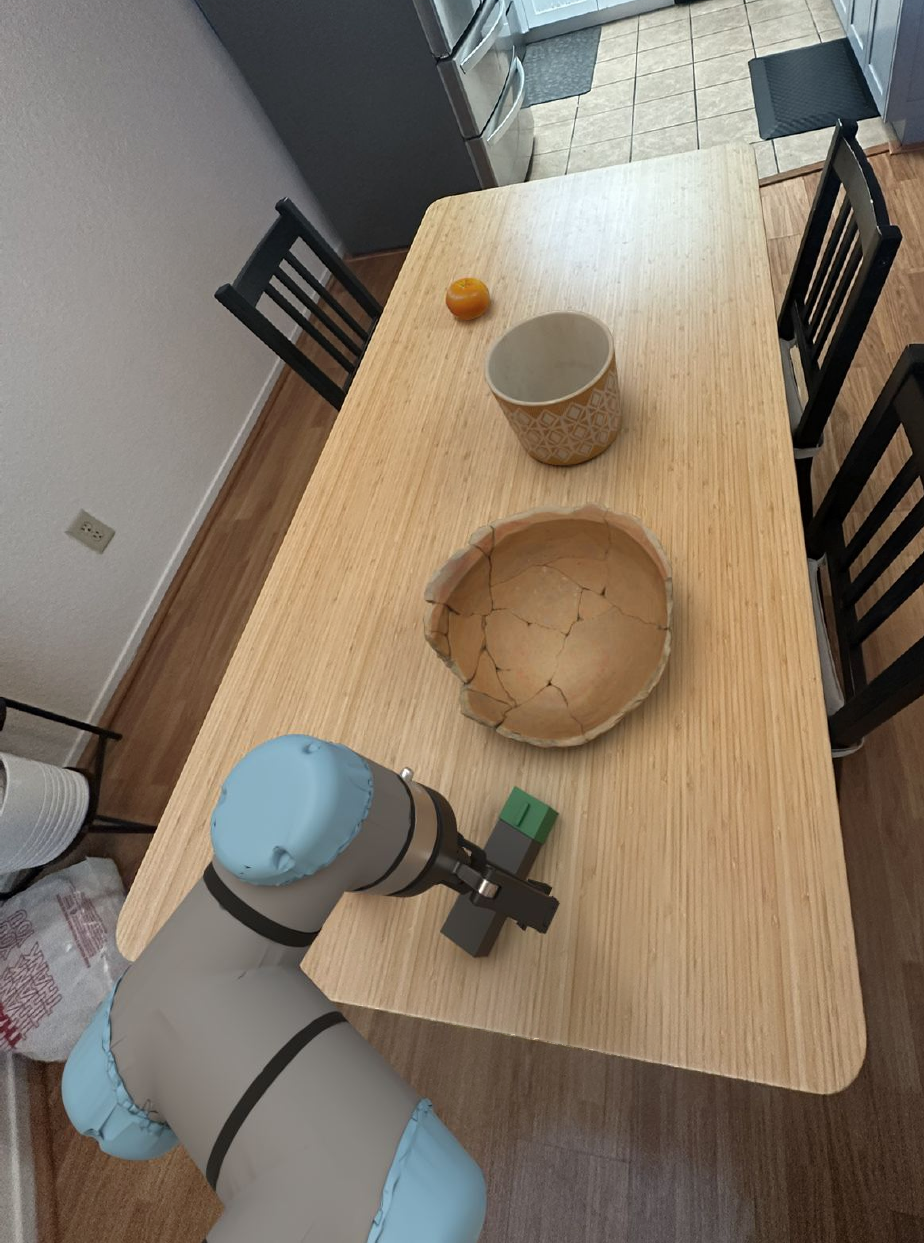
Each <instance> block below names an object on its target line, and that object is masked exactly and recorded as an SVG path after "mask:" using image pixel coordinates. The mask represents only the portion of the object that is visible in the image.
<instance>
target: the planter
mask: <svg viewBox="0 0 924 1243" xmlns="http://www.w3.org/2000/svg"><path fill="white" fill-rule="evenodd" d="M618 375H619V374H618V366H617V358H616V350H615V341H614V337H613V334H612V332H611V330H610V329H609V327H608V326H607V325H606V324H605V323H604V322H603V321H602V320H600V319H599V318H597V317H596V316H595V315H592V314H590V313H588V312H583V311H579V310H574V309H554V310H547V311H543V312H539V313H536V314H535V313H534V314H532V315H530V316H528V317H525V318H523V319H521V320H518V321H517V322H516V323H514V324H512V325H511V326H509V327H507V329H506V330H504V331H503V332H502V333H500V335H499V336H498V337H497V338H496V339H495V340H494V342H492V344H491V346H490V347H489V349H488V351H487V353H486V355H485V359H484V362H483V376H484V380H485V382H486V384H487V386H488V388H489V390H490V392H491V394H492V395H493V397H494V398H495V400H496V402H497V404H498V405H499V407H500V409H501V411H502V413H503V414H504V416H505V419H507V421H508V423H509V425H510V427H511V428H512V430H513V432H514V434H515V435H516V437H517V438H518V441H519V443H520V444H521V446H522V447H523V449H524V450H525V451H526V453H528V454H529V455H530V456H531V457H532V458H534V459H536V460H538V461H540V462H542V463H545V464H549V465H553V466H554V465H555V466H571V465H572V466H573V465H576V464H580V463H583V462H586V461H589V460H591V459H593V458H595V457H597V456H598V455H600V454H601V453H603V452H604V451H605V450H606V449H608V447H610V445H611V444H612V443H613V441H614V440H615V439H616V437H617V435H618V433H619V432H620V429H621V425H622V421H623V412H622V411H623V410H622V402H621V394H620V393H621V392H620V385H619V376H618Z"/></svg>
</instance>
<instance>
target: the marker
mask: <svg viewBox="0 0 924 1243" xmlns="http://www.w3.org/2000/svg"><path fill="white" fill-rule="evenodd" d="M559 814H560V813H559V812H558V811H556V809H554V808H552V807H551V806H549V805H547V804H546V803H545V802H542V801H541V800H539V799H538V798H536V797H535V796H533V795H531V794H529V793H528V792H526V791H524V790H523V789H521V788H519V786H516V785H514V786H513V788H512V790H511V792H510V794H509V796H508V797H507V799H506V801H505V803H504V805H503V806H502V809H501V811H500V813H499V815H498V816H497V817H498V820H497V821H496V823H495V825H494V828H493V829H492V831H491V833H490V835H489V837H488V839H487V841H486V842H485V845H484V846H483V848H482V850H483V851H485V852H486V859H488V860H490V861H492V862H494V863H495V864H497V865H499V866H501V867H503V868H504V869H506V870H508V871H510V872H512V873H513V874H515V875H517V876H519V877H521V878H522V879H524V880H526V881H527V879H528V876H529V874H530V872H531V871H532V868H533V866H534V864H535V862H536V860H537V857H538V855H539V854H540V852H541V849H542V848H543V845H545V844H546V841H547V839H548V837H549V836H550V834H551V831H552V829H553V828H554V824H555V823H556V822H557V819H558V816H559ZM471 893H472V892H471V891H470V892H468V893H467V894H465V895H462V894H460V893H458V896H457V898H456V899H455V901H454V904H453V906H452V908H450V911H449V912H448V913H449V914H448V915H447V916H446V918H445V921H444V922H443V925H442V926H441V928H440V930H439V932H440V933H441V934H442V935H443V936H444V937H446V938H447V939H449V940H450V941H451V942H452V943H454V944H455V945H456V946H458V947H459V948H460V949H462V950H463V951H464V952H466V953H467V954H468V955H470V956H471V957H472V958H474V959H477V958H478V959H479V958H489V956H490V954H491V953H492V950H493V948H494V946H495V944H496V942H497V940H498V938H499V936H500V934H501V932H502V929H503V927H504V925H505V923H506V921H507V919H508V917H506V916H504V915H501V914H499V913H497V912H495V911H493V910H490V909H486V908H482V907H479V906H478V907H476V906H474V905H473V904H472V902H470V900H469V897H470V895H471Z"/></svg>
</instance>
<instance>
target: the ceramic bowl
mask: <svg viewBox="0 0 924 1243" xmlns="http://www.w3.org/2000/svg"><path fill="white" fill-rule="evenodd" d="M467 544H468V545H467V546H466V547H463V548H460V549H458V550H456V551H455V552H454V553H453V554H452V555H451V556H450V557H449V558H448V559H447V560H446V561H445V562H443V563H442V564H441V565H440V566H439V567H438V568H436V570H434V571H433V572H432V574H431V577H430V579H429V580H428V583H427V585H426V586H425V590H424V594H423V595H424V596H423V597H424V601H425V602H426V603H429V604H431V606H430V607H429V608H427V611H426V612H425V614H424V616H423V619H422V622H423V635H424V639H425V642H427V643H428V644H429V646H430V647H431V649H432V650H434V652H435V654H436V658H437V659H440V660H441V661H442V663H443V664H444V665H445V666H446V668H448V669H450V670H451V672H452V674H454V675H455V676H457V677H458V679H459V680H460V681H461V682H462V683H463V684H462V686H461V687H460V693H459V700H458V701H459V705H460V714H461V715H462V716H463V717H465V718H466V719H470V720H472V721H474V722H475V723H477V724H479V725H481V726H483V727H487V728H490V729H494V730H495V732H496V733H497V734H499V735H501V736H503V737H505V738H507V739H510V740H512V741H516V742H521V743H524V744H527V745H533V746H537V747H540V748H546V749H551V748H562V749H567V748H570V747H576V746H581V745H583V744H587V743H588V742H590V741H592V740H594V739H596V738H597V737H599V736H601V735H604V734H607V732H609V731H610V730H611V729H612V728H613V727H614V726H615V725H617V724H618V723H619V722H620V721H621V719H622V718H624V717H625V716H626V715H628V714H629V713H631V712H633V711H634V710H635V709H636V708H638V707H639V706H640V705H641V704H643V702H644V701H645V700H646V699H647V698H648V697H650V695H651V694H652V692H653V691H654V689H655V687H656V685H657V684H658V683H659V682H660V680H661V679H662V677H663V675H664V672H665V670H666V667H667V665H668V662H669V660H670V657H671V651H672V644H673V632H674V623H675V599H674V585H673V577H672V576H673V567H672V565H671V563H670V560H669V558H668V556H667V554H666V552H665V550H664V547H663V545H662V543H661V542H660V540H659V538H658V537H657V535H656V533H655V532H653V531H652V530H651V529H650V528H649V527H648V526H647V525H646V524H645V522H644V521H643V519H641V518H640V517H638V516H636V515H632V514H629V513H627V512H622V511H619V510H616V509H613V508H610V507H607V506H606V505H605V504H603V503H601V502H597V501H588V502H586V503H583V504H582V505H577V506H562V505H558V504H556V503H551V504H548V503H547V504H542V505H537V506H534V507H532V508H530V509H527V510H523V511H520V512H516V513H514V514H510V515H509V516H507V517H504V518H499V519H496V520H494V521H492V522H490V524H486V525H483V526H478V528H477V529H476V530H474V532H473V533H471V535H470V538H469V540H468V542H467Z"/></svg>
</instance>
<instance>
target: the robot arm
mask: <svg viewBox="0 0 924 1243" xmlns="http://www.w3.org/2000/svg"><path fill="white" fill-rule="evenodd" d="M414 774H415V772H414V770H413V769H412V768H410V767H409V766H405V767H403V768H402V769H401V770H400V772H399V773H398V772H396V771H394V770H392V769H390V768H388V767H386V766H384V765H382V764H380V763H378V762H376V761H374V760H373V759H370V758H368V757H366V756H364V755H363V754H361V753H359V752H357V751H355V750H353V749H351V748H350V747H349V746H347V745H345V744H343V743H337V742H336V743H335V742H333V741H327V740H324V739H322V738H319V737H316V736H312V735H309V734H303V733H291V734H284V735H280V736H277V737H274V738H271V739H268V740H266V741H264V742H262V743H261V744H259V745H257V746H256V747H254V748H253V749H251V750H250V751H249V752H248V753H246V754H245V755H244V756H243V757H242V758H241V759H240V760H239V761H238V762H237V763H236V764H235V765H234V766H233V768H232V769H231V770H230V772H229V774H228V775H227V776H226V778H225V779H224V781H223V782H222V784H221V787H220V790H221V791H220V795H219V797H218V800H217V803H216V806H215V807H214V808H213V810H212V813H211V816H210V822H209V825H210V828H209V830H210V831H209V835H210V842H211V846H212V850H213V852H214V854H213V855H212V858H211V861H210V862H209V863H208V864H207V866H206V867H205V869H204V870H203V874H202V875H201V876H200V878H199V879H198V880H197V882H195V884H194V885H193V886H192V888H191V889H190V890H189V892H188V893H187V894H186V895H185V897H184V898H183V899H182V901H181V902H180V903H179V904H178V905H177V907H176V908H175V909H174V911H172V913H171V915H170V916H169V917H168V918H167V920H166V921H165V922H164V924H163V925H162V926H161V927H160V929H159V930H158V931H157V932H156V934H154V936H153V938H151V940H150V941H149V942H148V943H147V944H146V946H145V947H144V949H143V950H142V951H141V952H140V953H139V955H138V956H137V957H136V959H135V960H134V961H133V963H132V964H129V965H128V967H127V968H126V969H125V970H124V971H123V972H122V974H120V976H119V977H118V979H117V980H116V981H115V983H114V984H113V986H112V988H111V989H110V992H109V993H108V995H107V996H106V998H105V999H104V1000H103V1002H102V1004H100V1007H99V1008H98V1010H96V1012H95V1013H94V1015H93V1017H92V1018H91V1020H90V1021H89V1023H88V1024H87V1025H86V1028H85V1030H84V1031H83V1033H82V1034H81V1036H80V1038H79V1039H78V1040H77V1042H76V1044H75V1045H74V1047H73V1049H72V1050H71V1052H70V1054H69V1056H68V1058H67V1060H66V1062H65V1065H64V1069H63V1072H62V1077H61V1097H62V1102H63V1103H62V1104H63V1106H64V1109H65V1112H66V1114H67V1117H68V1118H69V1120H70V1122H71V1124H72V1125H73V1127H74V1128H75V1130H76V1131H77V1132H78V1133H79V1134H80V1135H82V1136H85V1137H91V1138H93V1139H94V1140H96V1141H97V1142H98V1145H99V1149H100V1151H102V1152H104V1153H106V1154H107V1155H109V1156H112V1157H115V1158H118V1159H120V1160H129V1161H147V1160H152V1159H156V1158H160V1157H162V1156H163V1155H165V1154H167V1153H169V1152H170V1151H171V1150H173V1149H174V1148H176V1147H177V1146H178V1145H179V1144H180V1143H181V1145H182V1146H183V1148H184V1149H185V1150H186V1152H187V1154H188V1155H189V1157H190V1158H191V1159H192V1161H193V1163H194V1164H195V1165H196V1166H197V1168H198V1170H199V1171H200V1173H201V1174H202V1176H203V1177H204V1179H205V1180H206V1182H207V1183H208V1185H209V1186H210V1187H211V1189H212V1190H213V1192H214V1194H215V1196H217V1197H218V1199H219V1201H220V1202H221V1204H222V1206H223V1208H224V1211H223V1213H222V1214H221V1215H220V1216H219V1218H218V1219H217V1220H216V1222H215V1223H214V1225H213V1226H212V1228H211V1229H210V1230H209V1232H208V1233H207V1234H206V1236H205V1238H204V1239H203V1240H202V1241H201V1243H478V1241H479V1238H480V1235H481V1233H482V1229H483V1226H484V1224H485V1219H486V1218H485V1217H486V1213H487V1207H488V1206H487V1205H488V1200H487V1199H488V1198H487V1189H486V1188H487V1183H486V1180H485V1177H486V1176H485V1174H484V1172H483V1170H482V1169H481V1167H480V1166H479V1164H478V1163H477V1162H476V1161H475V1159H474V1158H473V1157H472V1156H471V1155H470V1153H468V1151H467V1149H466V1148H464V1146H463V1145H462V1144H461V1143H460V1142H459V1141H458V1139H457V1138H456V1137H455V1136H454V1134H453V1133H452V1132H451V1131H450V1129H448V1127H447V1126H446V1125H445V1124H444V1122H443V1121H442V1120H441V1119H440V1117H438V1115H437V1114H436V1112H435V1111H434V1110H435V1109H434V1104H433V1103H432V1102H431V1100H430V1099H429V1098H427V1097H426V1098H423V1097H421V1095H420V1094H419V1093H418V1092H417V1091H416V1090H415V1089H414V1088H413V1087H412V1086H411V1085H410V1084H409V1082H407V1081H406V1080H405V1079H404V1078H403V1077H402V1076H401V1074H399V1072H398V1071H397V1070H396V1069H395V1068H394V1067H393V1066H392V1065H391V1064H390V1062H388V1061H387V1060H386V1059H385V1058H384V1057H383V1055H381V1054H380V1053H379V1051H378V1050H376V1049H375V1047H374V1046H373V1045H372V1044H371V1043H370V1042H369V1041H368V1040H367V1039H366V1038H365V1037H364V1036H363V1035H362V1034H361V1033H360V1032H359V1030H357V1028H355V1027H354V1026H353V1024H352V1023H351V1022H350V1021H349V1020H348V1019H347V1018H346V1017H345V1015H344V1013H343V1012H342V1011H341V1010H340V1009H339V1008H338V1007H337V1005H336V1004H335V1003H333V1001H332V1000H331V999H330V997H328V996H327V995H326V994H325V992H323V991H322V990H321V988H319V986H318V985H317V984H316V983H315V981H313V980H312V979H311V978H310V977H309V975H308V974H307V973H305V971H304V970H303V969H302V967H301V964H302V962H303V960H304V959H305V957H306V956H307V954H308V952H309V950H310V948H311V947H312V945H313V943H314V942H315V941H316V939H317V937H318V936H319V935H320V933H321V931H322V930H323V926H324V924H325V923H326V922H327V920H328V918H329V917H330V915H331V914H332V912H333V911H334V909H335V908H336V906H337V905H338V903H339V901H340V900H341V898H342V897H343V895H344V894H345V893H351V894H357V893H358V894H357V895H367V896H383V897H392V898H399V899H400V898H401V899H403V898H404V899H405V898H412V897H416V896H418V895H421V894H423V893H425V892H426V891H429V890H430V889H431V888H433V887H434V886H439V885H443V886H445V887H447V888H449V889H450V890H452V891H454V892H456V893H457V894H462V895H465V894H467V893H468V892H470V891H471V892H472V893H471V895H470V897H469V900H470V902H472V904H473V905H474V906H476V907H478V906H479V907H482V908H486V909H490V910H493V911H495V912H497V913H499V914H501V915H504V916H506V917H507V919H511V920H513V921H514V922H516V923H515V924H516V926H518V927H519V928H520V930H522V931H523V932H527V929H528V928H531V929H533V930H535V931H536V932H538V933H539V934H543V935H547V933H548V930H549V929H550V927H551V924H552V922H553V920H554V917H555V915H556V913H557V911H558V910H559V906H560V904H561V903H560V901H559V900H558V898H557V897H556V896H554V895H551V893H552V890H553V886H551V885H550V884H549V883H546V882H543V881H539V880H535V879H532V878H528V877H527V879H526V880H524V879H522V878H521V877H519V876H517V875H515V874H513V873H512V872H510V871H508V870H506V869H504V868H503V867H501V866H499V865H497V864H495V863H494V862H492V861H490V860H488V859H486V852H485V851H483V848H481V847H480V846H479V845H478V844H476V843H474V842H472V841H470V840H468V839H466V838H465V837H464V835H463V834H462V833H461V832H460V831H459V830H458V822H457V818H456V815H455V811H454V809H453V808H452V805H451V804H450V802H449V801H448V799H447V798H446V797H445V796H444V795H443V794H441V792H438V791H437V790H435V789H433V788H431V787H429V786H427V785H425V784H423V783H421V782H419V781H415V780H413V778H414ZM466 850H467V851H469V852H470V854H469V853H468V852H467V851H466Z"/></svg>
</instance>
